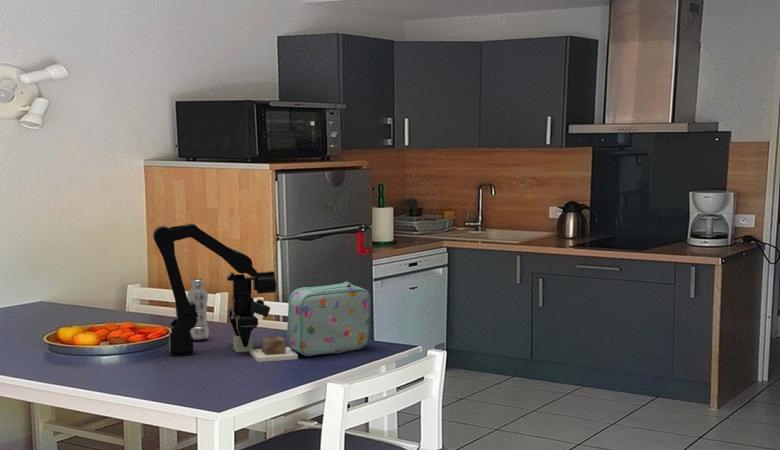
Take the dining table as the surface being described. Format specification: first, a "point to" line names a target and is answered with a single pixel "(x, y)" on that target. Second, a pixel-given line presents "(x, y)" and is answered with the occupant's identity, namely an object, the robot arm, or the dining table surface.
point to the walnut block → (273, 345)
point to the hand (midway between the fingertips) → (242, 343)
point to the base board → (262, 357)
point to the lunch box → (328, 319)
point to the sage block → (239, 346)
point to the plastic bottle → (199, 309)
